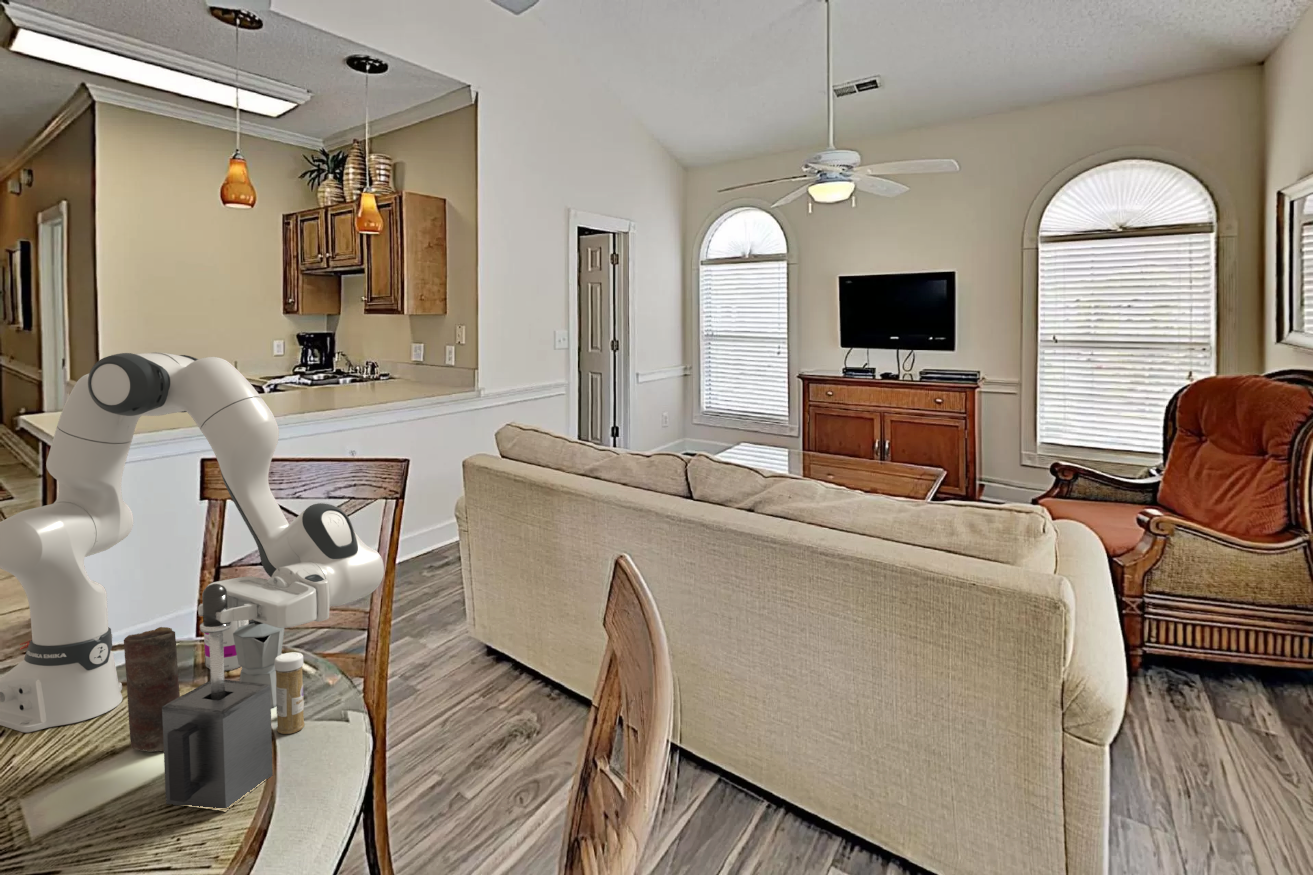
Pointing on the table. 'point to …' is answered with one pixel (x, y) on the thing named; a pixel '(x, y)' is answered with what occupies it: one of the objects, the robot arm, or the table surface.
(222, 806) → the press body
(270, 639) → the coffee maker
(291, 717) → the sprinkles bottle
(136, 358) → the robot arm
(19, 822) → the table surface
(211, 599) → the eye dropper
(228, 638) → the supplement can
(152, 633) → the candle
